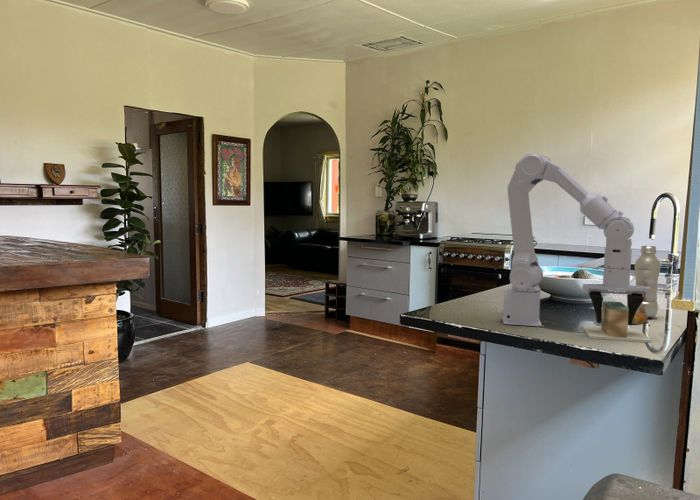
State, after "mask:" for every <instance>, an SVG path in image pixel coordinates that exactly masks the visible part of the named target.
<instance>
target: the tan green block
mask: <svg viewBox="0 0 700 500" xmlns="http://www.w3.org/2000/svg"><path fill="white" fill-rule="evenodd" d="M601 312H602V320H601V323H600V324H601V325H600V326H601V329H602V330H603V331H604V332H605V333H606V335H607V336H608V337H621V338H627V330H628V326H629V325H628V314H629V308H628V307H627V306H626V305H625V304H623V302H621V301H613V300H612V301H609V300H603V302H602V311H601Z"/></svg>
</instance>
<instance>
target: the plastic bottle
mask: <svg viewBox="0 0 700 500" xmlns="http://www.w3.org/2000/svg"><path fill="white" fill-rule="evenodd" d="M640 253H641V255H640V256H639V257H638V258H637V259H636V260H635V263H634V274H635V275H634V276H635V284H634V286H643V287H649V288H651V291H650V296H645V295H643V296H642V297H644V300H643V302H642V303H641V305H640V306H639V308H638V309H637V312H641V313H643V314H645V315H647V319H648V318H655V317H656V316H657V315H658V310H659V304H658V297H657V296H658V295H657V293H658V291H657V289H658V283H659V282H658V281H659V276H660V272H661V267H662V266H661V262H660V261H659V258H658V257H657V256H656V254H657V246H654V245H642V246H640Z"/></svg>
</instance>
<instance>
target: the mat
mask: <svg viewBox="0 0 700 500" xmlns="http://www.w3.org/2000/svg"><path fill="white" fill-rule="evenodd" d="M581 329H583V331H584V332H585V333H586V335H587V336H588V338H589V339H591V340H592V339H593V340H605V339H606V340H607V341H618V342H619V341H621V342H637V343H648V344H649V343H650V344H651V343H652V339H651V338H650V337H649V336H647V335H646V334H645V333H644V332H642V330H640V329H639V328H628V330H627V338H621V337H608V336H607V335H606V333H605V332H604V331H603V330H602V329H601V325H599V326H598V325H585V324H583V325H581Z"/></svg>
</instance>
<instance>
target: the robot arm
mask: <svg viewBox="0 0 700 500" xmlns="http://www.w3.org/2000/svg"><path fill="white" fill-rule="evenodd" d="M543 181H547V182H552V183H555V184H556V185H558V186H559V187H560V188H561V189H562V190H564V191H565V192H566V193H567V194H568V195H570V196H571V197H572V198H573V199H574V200H575V201H577V202H578V203H579V206H580V207H579V209H580V212H581V214H583V215H584V216H585V217H586V218H587V219H588V220H589V221H590V222H591V223H592V224H593V225H595V226H596V228H598V229H599V230H603V235H604V237H605V238H606V240H605V248H604V259H603V275H602V277H603V278H602V283H582V288H581V289H582V293H584V294H585V293H586V294H588V296H589V298H590V301H591V302H592V305H593V308H594V309H593V310H594V313H595V320H596V322H597V324H601V323H602V306H603V301H604V296H603V294H613V295H615V294H616V295H626V298H627V299H626V301H627V302H626V304H627V306H626V307H628V308H629V314H628V326H632V325H633V324H632V321H633V318H634V316H635V313H636V311H637V309H638V308H639V306H640V305H641V303H642V302H643V300H644V297H642V296H643V295H645V296H650V291H651V288H649V287H643V286H635V285H631V283H630V282H631V266H632V251H633V249H632V244H633V243H632V242H633V241H632V238H631V237H633V234H634V231H635V227H634V224H633V223H632V221H631V220H630V218H628V217H626V216H623V215H624V212H622V210H617V209H616V208H615V207H613V205H612V204H610V203H609V202H608V201H609V198H608V197H606V195H603V196H601V195H600V194H598V193H597V194H591V193H589V191H588V190H586V189H585V188H584V187H583V186H582V185H581V183H579V182H578V181H577V179H575V178H574V177H573V176H572V175H571V174H570V173H569V172H568V171H566V170H565V168H563V167H562V166H560V165H559V164H558V163H556V162H555V161H552V160H551V159H550V158H549V157H548V156H545V155H540V154H538V153H535V152H532V153H531V152H530V153H528V154H527V153H526V154H525V155H524V156H523V157H522V158H521V159H520V160H519V161H517V162H516V164H515V167H514V171H513V174H512V176H511V178H510V181H509V183H508V185H507V197H508V198H507V199H508V206H509V216H510V226H511V228H510V229H511V236H512V245H513V253H514V254H513V257H512V260H511V272H510V273H509V281H510V284H511V285H512V286H511V288H504V289H503V298H502V299H503V301H502V304H503V305H502V309H501V317H502V322H503V324H504V325H511V326H512V325H514V326H515V325H516V326H528V327H529V326H530V327H542V326H543V325H542V322H541V320H540V308H541V307H540V304H541V287H540V285H539V284H540V283H541V282H542V280H543V279H544V278H543V277H544V273H543V269H542V268H541V266H540V265H539V258H538V256H537V254H536V251H535V245H534V234H533V226H532V217H531V206H530V197H529V196H530V195H529V193H530V192H531V191H532V190H533V189H534V188H535V187H536V186H537V184H539V183H540V182H543Z"/></svg>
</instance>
